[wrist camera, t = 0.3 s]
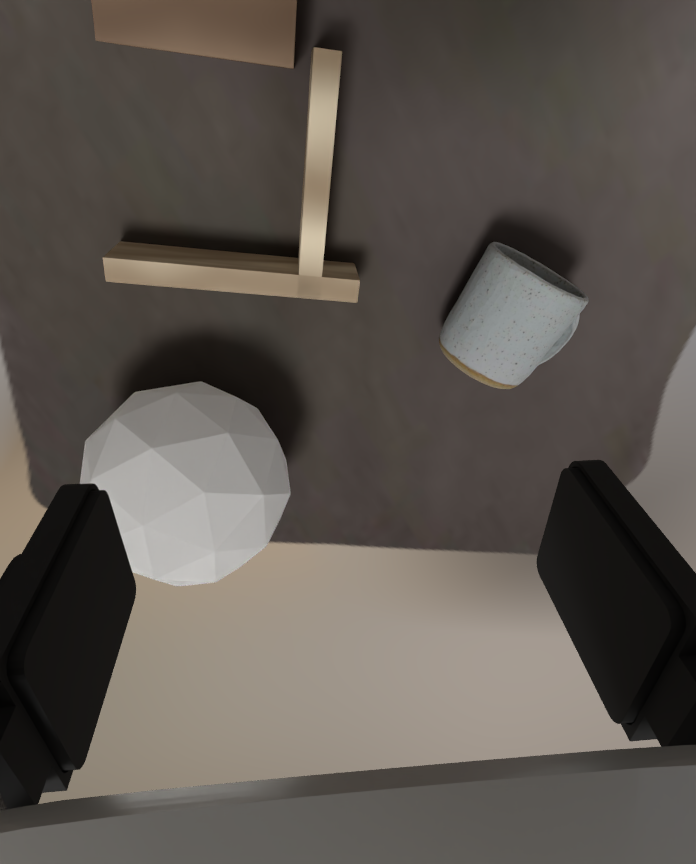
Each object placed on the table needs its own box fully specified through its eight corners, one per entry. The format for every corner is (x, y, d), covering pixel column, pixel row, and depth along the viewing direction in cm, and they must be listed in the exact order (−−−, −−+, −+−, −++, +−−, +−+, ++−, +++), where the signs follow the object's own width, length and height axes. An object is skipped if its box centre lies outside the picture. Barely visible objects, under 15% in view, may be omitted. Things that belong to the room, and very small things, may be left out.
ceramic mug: (422, 331, 42) (446, 376, 35) (477, 230, 38) (515, 260, 31) (532, 375, 45) (572, 425, 38) (593, 286, 41) (649, 325, 34)
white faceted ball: (174, 417, 50) (15, 503, 39) (236, 315, 39) (44, 393, 29) (273, 534, 49) (140, 653, 39) (363, 461, 39) (216, 597, 28)
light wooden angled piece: (95, 19, 30) (71, 11, 26) (378, 60, 32) (388, 58, 29) (122, 263, 37) (105, 281, 34) (351, 283, 39) (357, 302, 36)
